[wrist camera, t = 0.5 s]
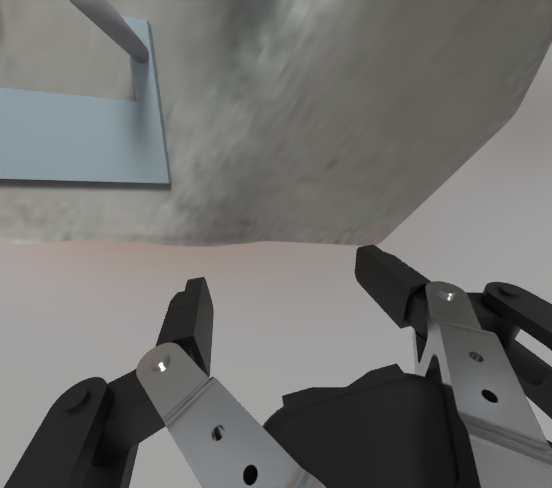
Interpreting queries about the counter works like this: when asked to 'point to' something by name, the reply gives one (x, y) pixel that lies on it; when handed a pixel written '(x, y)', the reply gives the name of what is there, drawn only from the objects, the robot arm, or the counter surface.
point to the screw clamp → (90, 120)
